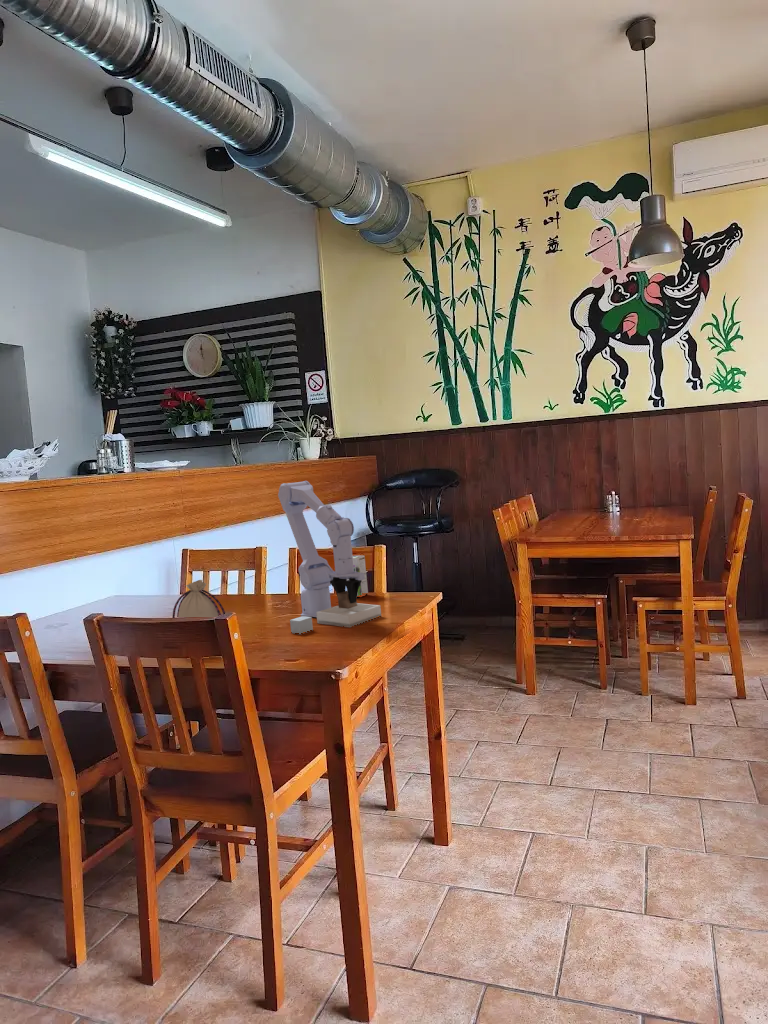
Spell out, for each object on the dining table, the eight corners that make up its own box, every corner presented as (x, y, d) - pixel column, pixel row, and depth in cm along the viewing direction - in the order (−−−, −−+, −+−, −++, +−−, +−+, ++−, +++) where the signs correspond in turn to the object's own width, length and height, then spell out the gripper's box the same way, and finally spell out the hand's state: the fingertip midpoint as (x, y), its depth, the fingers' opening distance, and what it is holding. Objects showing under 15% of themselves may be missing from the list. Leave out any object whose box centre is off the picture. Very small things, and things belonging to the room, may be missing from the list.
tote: (317, 623, 225) (316, 612, 224) (349, 613, 235) (348, 602, 235) (349, 627, 215) (348, 615, 215) (381, 616, 226) (380, 605, 225)
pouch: (248, 642, 209) (240, 576, 207) (233, 650, 201) (226, 582, 200) (172, 643, 217) (165, 579, 215) (156, 651, 209) (148, 585, 207)
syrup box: (346, 598, 260) (342, 557, 259) (355, 594, 265) (351, 554, 264) (360, 598, 257) (356, 557, 256) (368, 594, 263) (365, 554, 261)
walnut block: (338, 607, 225) (337, 593, 224) (347, 604, 228) (346, 590, 227) (348, 608, 222) (346, 594, 222) (357, 605, 225) (355, 591, 225)
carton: (291, 633, 216) (289, 620, 215) (304, 629, 219) (302, 616, 219) (300, 634, 213) (298, 621, 213) (313, 630, 217) (311, 617, 216)
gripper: (317, 560, 225) (322, 603, 227) (351, 561, 216) (355, 606, 217) (333, 556, 231) (338, 598, 232) (367, 557, 221) (371, 601, 222)
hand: (347, 602), depth 225 cm, fingers closed on walnut block, 4 cm apart
